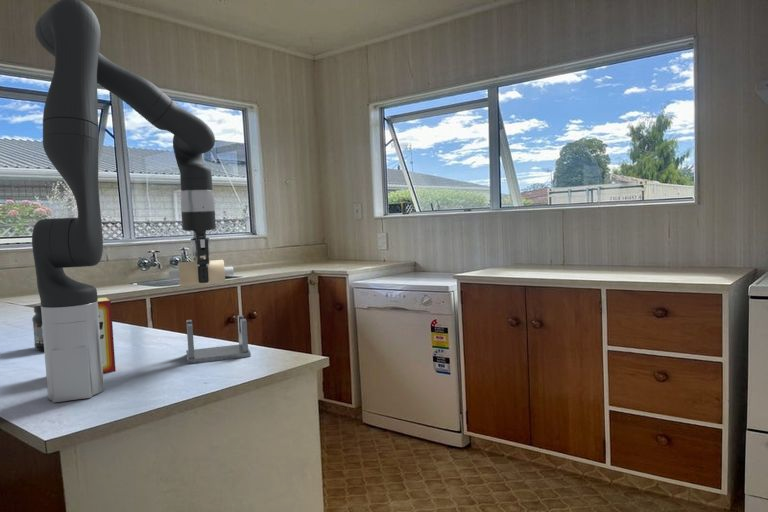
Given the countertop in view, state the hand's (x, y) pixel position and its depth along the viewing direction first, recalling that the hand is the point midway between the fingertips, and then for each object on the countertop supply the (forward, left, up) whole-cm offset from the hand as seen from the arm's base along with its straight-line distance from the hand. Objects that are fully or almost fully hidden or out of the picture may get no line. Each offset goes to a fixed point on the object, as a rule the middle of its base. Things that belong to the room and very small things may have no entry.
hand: (202, 281), depth 128 cm
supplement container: (+30, +37, -18) cm, 51 cm away
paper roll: (0, 0, -1) cm, 1 cm away
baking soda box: (-3, +25, -18) cm, 31 cm away
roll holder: (-2, -2, -18) cm, 18 cm away
